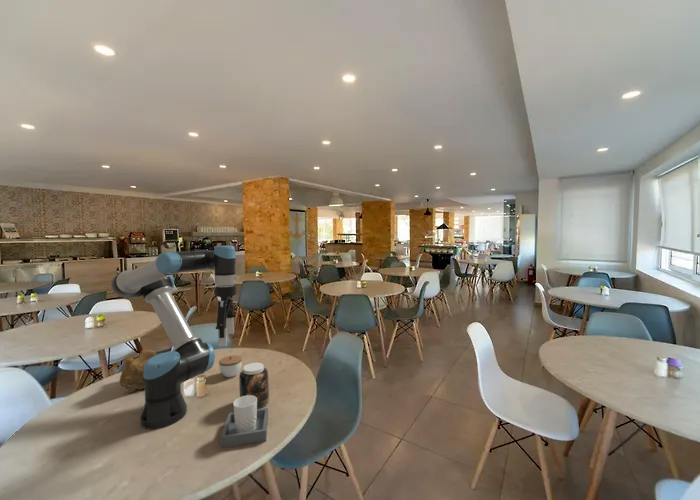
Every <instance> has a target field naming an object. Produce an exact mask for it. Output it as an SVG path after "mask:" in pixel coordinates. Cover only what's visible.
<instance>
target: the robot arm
mask: <svg viewBox="0 0 700 500" xmlns="http://www.w3.org/2000/svg"><path fill="white" fill-rule="evenodd" d="M236 257H237V256H236V248H235V246H234V245H216V246H214V249H212V250H211V249H210V250H207V249H198V250H189V251H188V250H187V251H186V250H185V251H168V252H161V253H159V254H158V256H157V257H156V259H155V260H153V261H150V262H148V263H146V264H143V265H141V266H140V267H137V268H134V269H132V270H131V269H128V270H123V271H121V272H119V273H117V274H115V276H114V277H112V280H111V283H110V287H111V290H112V292H113V293H114V294H115V295H116V296H119V297H121V298H125V299H131V298H132V299H133V298H140V297H142V298H143V300H144V301H145V302H146V303H148V304H151V306H152V307H153V310H154V312H155V314H156V315H157V317H158V319H159V322H160V323H161V326H162V327H163V329H164V331H165V333H166V335H167V337H168V338H169V341H170V342H171V344H172V346H173V350H169V351H166V352H161V353H157V355H156V356H154V357H152V358H150V359H149V360H148V361H147V362H146V363H145V365H144V373H143V377H144V387H145V388H144V401H145V402H144V404H143V408H142V411H141V415H140V417H139V418H140V419H139V420H140V426H141V427H142V426H143V427H145V428H144V429H147V428H150V429H149V430H153V429H154V430H155V429H160V428H164V427H168V426H170V425H173V424H175V423H177V422H178V421H180V420H182V419H183V418H184V417H185V416H186V415H187V412H188V409H187V403H186V401H185V398H184V396H183V394H182V388H181V387H182V383H185V382H187V381H189V380H192V379H194V378H195V377H197V376H199V375H203V374H204V373H206V372H208V371H210V369H212V368H213V366H214V364H215V361H216V353H215V352H216V351H215V349H214V346H213V345H212V344H211V343H209V342H203V340H202V339H201V337H197V336H195V334H194V333H193V330H192V329H191V327H190V325H189V323H188V321H187V319H186V317H185V316H184V313H182V311H181V309H180V307H179V306H178V303H177V301H176V300H175V298H174V295H173V292H174V287H175V279H174V276H173V275H177V274H179V273H184V272H192V271H202V270H214V285H215V287H214V295H215V297H217V298H220V300H219V301H218V302H217V304H218V305H217V306H218V307H217V319H216V326H215V330H217V335H218V337H217V339H218V347H227V345H228V344H227V343H228V342H227V337H228V336H227V335H234V334H235V330H234V327H235V326H234V325H235V324H234V321H235V320H234V318H236V314H235V308H234V299H233V296H236V295H237V286H236V284H237V283H236V280H237V279H238V276H236V274H237V273H236ZM143 427H142V428H143Z"/></svg>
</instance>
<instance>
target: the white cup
mask: <svg viewBox="0 0 700 500" xmlns="http://www.w3.org/2000/svg"><path fill="white" fill-rule="evenodd" d="M232 407H233V413H234V419H235V426H236V432H237V433H242V432H249V431H254V430H255V429H256V420H257V398H256V397H255V396H252V395H246V396H242V397H240V396H239V397H238V398H236V399H235V400H234V401H233V402H232Z"/></svg>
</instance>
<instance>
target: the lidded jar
mask: <svg viewBox="0 0 700 500" xmlns="http://www.w3.org/2000/svg"><path fill="white" fill-rule="evenodd" d="M218 364H219V371H220V374H222V375H223V376H224V377H225V378H233V377H236V376H238V374H240V372H241V371H242V368H243V356H240V355H228V356H227V355H226V356H225V357H222V358H221V359H219V361H218Z"/></svg>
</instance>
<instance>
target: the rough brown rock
mask: <svg viewBox="0 0 700 500" xmlns="http://www.w3.org/2000/svg"><path fill="white" fill-rule="evenodd" d="M156 355H158V353H157V352H155V351H154V350H152V349H143V350H141V351H140V352H139V354H138V355H137V357H136V358H135V359H134V358H133V357H128V358H126V359H125V362H124V365H123V368H122V371H121V373H120V377H119V385H120V386H121V387H124V388H125V390H126V392H128V393H130V392H131V393H134V392H136V391H137V390H142V389H145V387H144V377H143V373H144V365H145V363H146V362H147V361H148V360H149V359H150V358H152V357H154V356H156ZM133 391H134V392H133Z"/></svg>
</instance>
